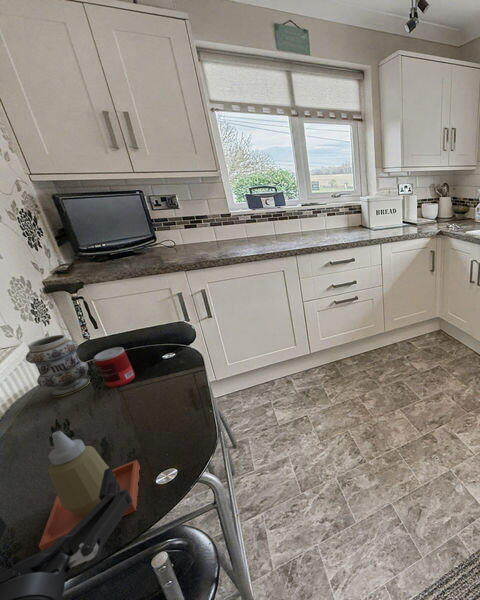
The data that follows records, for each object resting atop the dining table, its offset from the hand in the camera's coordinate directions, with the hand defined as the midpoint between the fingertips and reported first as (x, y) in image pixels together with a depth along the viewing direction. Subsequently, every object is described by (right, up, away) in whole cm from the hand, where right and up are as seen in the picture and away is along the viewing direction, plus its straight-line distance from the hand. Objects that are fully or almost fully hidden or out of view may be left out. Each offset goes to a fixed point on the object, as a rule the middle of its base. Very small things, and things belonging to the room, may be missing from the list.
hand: (58, 496), depth 54 cm
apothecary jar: (-53, +3, +55) cm, 76 cm away
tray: (-4, -9, +12) cm, 16 cm away
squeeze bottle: (-4, -9, +12) cm, 15 cm away
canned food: (-38, +5, +56) cm, 68 cm away
